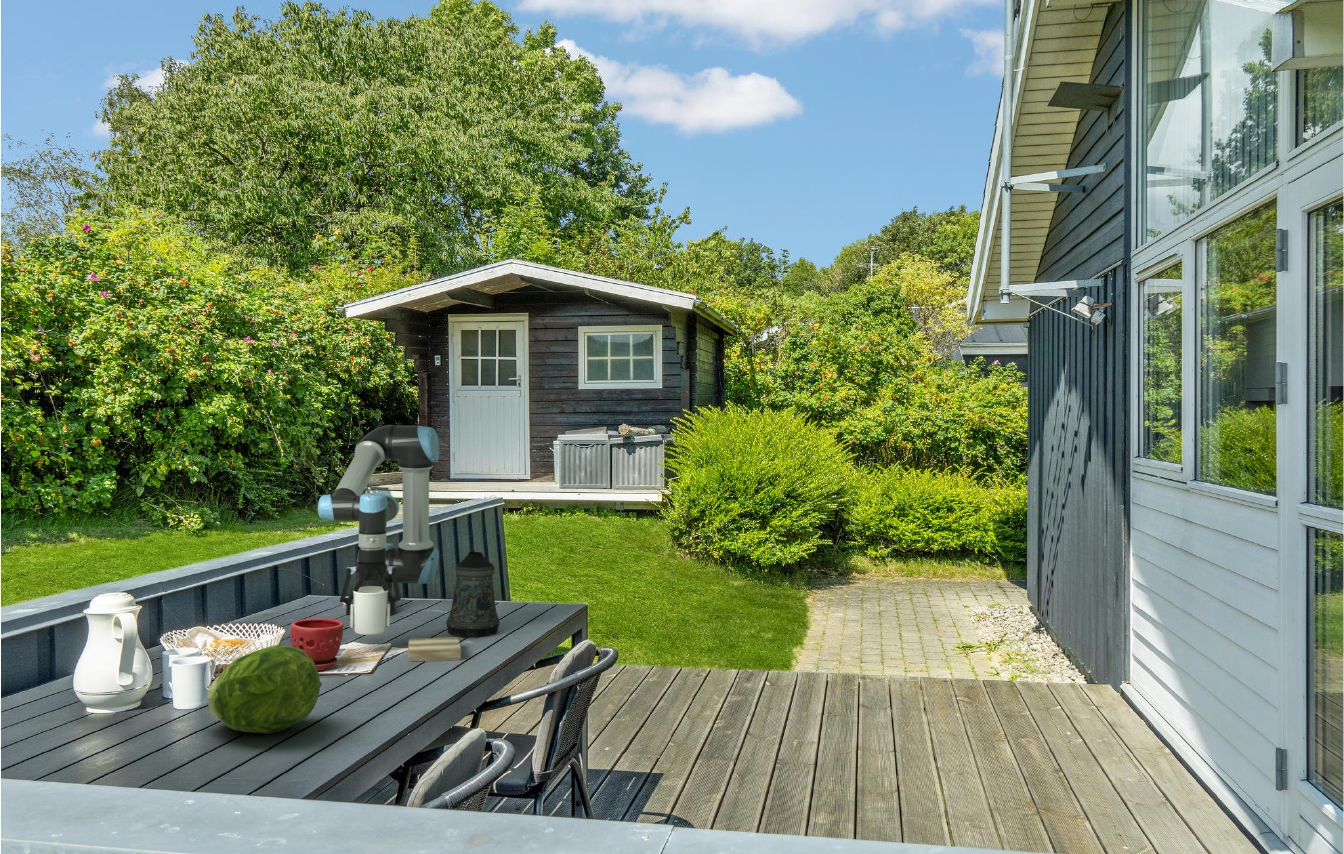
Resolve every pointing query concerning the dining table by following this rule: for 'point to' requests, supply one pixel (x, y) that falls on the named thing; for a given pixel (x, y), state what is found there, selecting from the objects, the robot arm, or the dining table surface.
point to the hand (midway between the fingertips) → (369, 625)
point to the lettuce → (266, 690)
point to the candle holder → (370, 610)
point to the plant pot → (318, 640)
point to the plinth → (434, 649)
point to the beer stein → (473, 599)
